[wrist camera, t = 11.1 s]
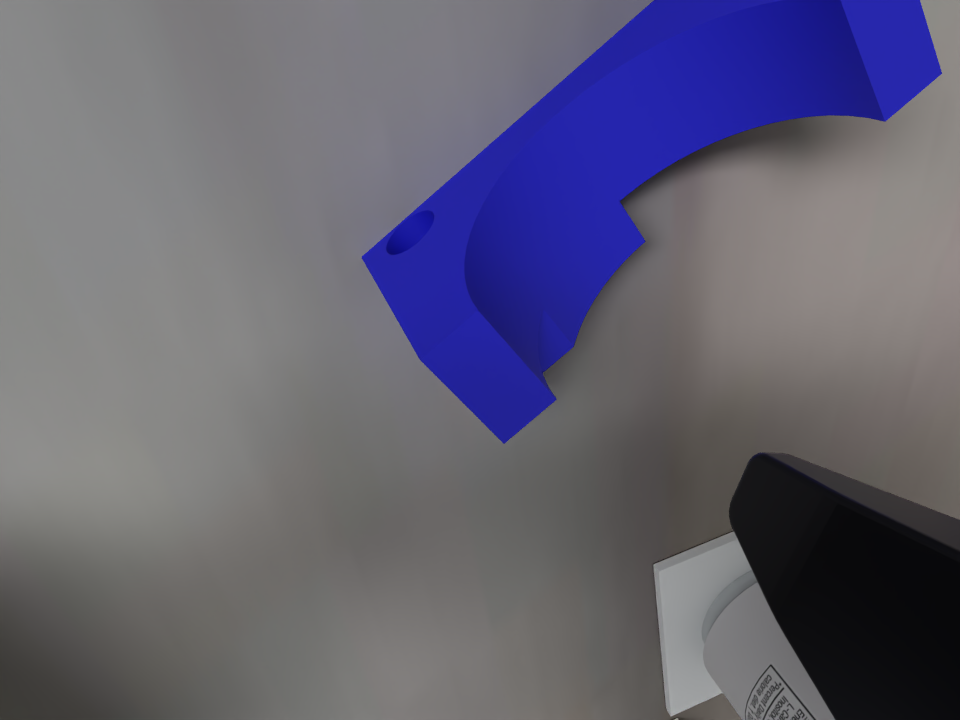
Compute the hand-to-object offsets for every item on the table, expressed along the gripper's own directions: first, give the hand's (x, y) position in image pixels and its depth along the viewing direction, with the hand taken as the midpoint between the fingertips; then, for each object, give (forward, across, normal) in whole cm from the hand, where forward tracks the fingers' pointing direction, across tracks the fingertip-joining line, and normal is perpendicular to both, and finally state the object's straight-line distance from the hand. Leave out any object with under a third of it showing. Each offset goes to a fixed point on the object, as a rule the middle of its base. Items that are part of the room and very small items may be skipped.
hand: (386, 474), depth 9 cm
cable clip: (+14, +7, 0) cm, 15 cm away
